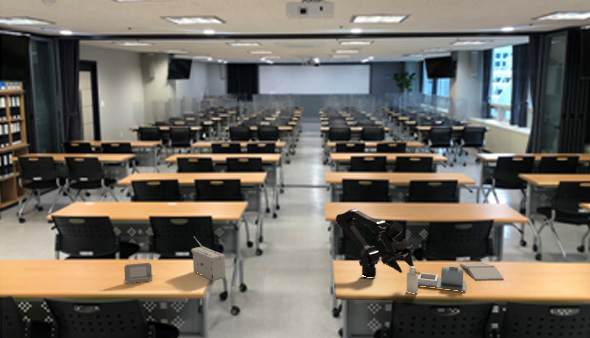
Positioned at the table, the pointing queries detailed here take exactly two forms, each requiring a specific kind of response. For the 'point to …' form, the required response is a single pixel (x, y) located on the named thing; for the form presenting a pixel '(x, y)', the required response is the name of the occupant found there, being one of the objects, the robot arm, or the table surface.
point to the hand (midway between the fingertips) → (407, 270)
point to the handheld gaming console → (138, 272)
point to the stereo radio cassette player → (208, 263)
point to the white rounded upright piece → (412, 280)
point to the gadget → (482, 271)
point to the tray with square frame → (444, 279)
